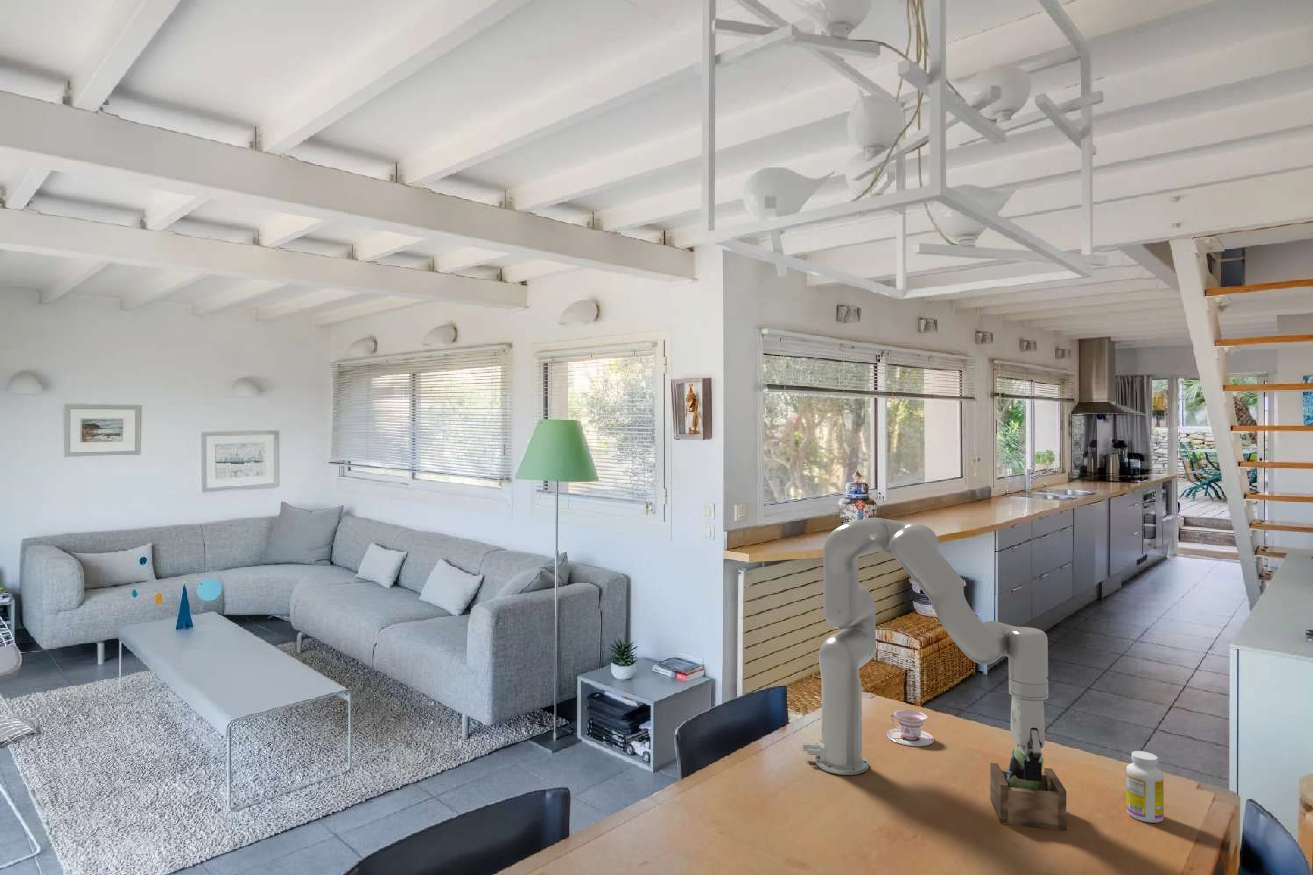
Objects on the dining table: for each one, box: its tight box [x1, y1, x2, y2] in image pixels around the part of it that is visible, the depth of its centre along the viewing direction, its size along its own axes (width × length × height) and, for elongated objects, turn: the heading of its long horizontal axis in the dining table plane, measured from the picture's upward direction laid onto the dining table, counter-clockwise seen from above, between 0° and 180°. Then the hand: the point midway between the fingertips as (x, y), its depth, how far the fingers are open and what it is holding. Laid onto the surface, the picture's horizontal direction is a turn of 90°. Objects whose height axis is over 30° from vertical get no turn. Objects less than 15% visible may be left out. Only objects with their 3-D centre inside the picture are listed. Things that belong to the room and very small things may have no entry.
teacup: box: [886, 709, 935, 747], centre depth 205 cm, size 12×12×6 cm
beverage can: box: [1006, 745, 1045, 790], centre depth 164 cm, size 6×7×12 cm
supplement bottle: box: [1125, 750, 1165, 824], centre depth 163 cm, size 7×7×13 cm
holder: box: [989, 762, 1067, 832], centre depth 163 cm, size 12×11×8 cm
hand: (1029, 772), depth 163 cm, fingers open, 6 cm apart
